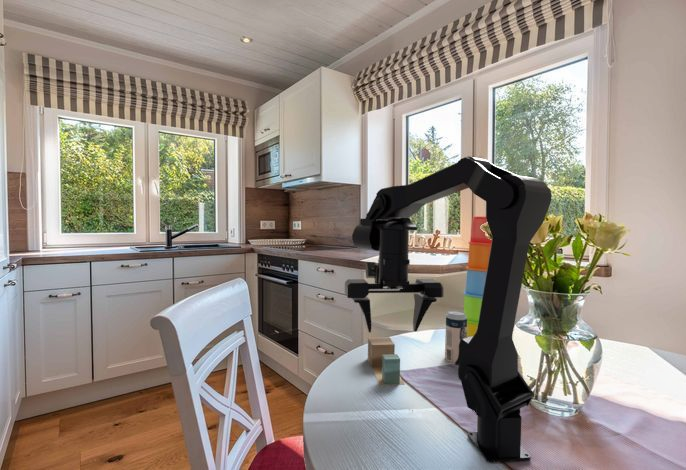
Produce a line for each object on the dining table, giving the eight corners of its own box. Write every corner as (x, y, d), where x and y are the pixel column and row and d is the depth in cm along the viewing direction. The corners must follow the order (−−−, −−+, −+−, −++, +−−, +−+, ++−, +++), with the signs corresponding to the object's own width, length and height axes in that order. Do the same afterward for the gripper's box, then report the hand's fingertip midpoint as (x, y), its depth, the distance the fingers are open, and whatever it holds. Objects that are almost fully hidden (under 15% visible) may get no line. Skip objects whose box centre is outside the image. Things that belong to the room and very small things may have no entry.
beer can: (467, 368, 82) (468, 316, 81) (445, 366, 83) (446, 314, 82) (464, 360, 86) (465, 310, 86) (443, 358, 87) (445, 309, 87)
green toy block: (404, 389, 71) (405, 359, 71) (379, 390, 70) (380, 359, 70) (388, 361, 85) (388, 336, 85) (367, 362, 84) (367, 336, 84)
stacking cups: (452, 341, 100) (456, 216, 99) (488, 340, 101) (491, 217, 100) (469, 355, 90) (473, 216, 89) (508, 354, 91) (512, 216, 90)
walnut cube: (394, 366, 79) (394, 344, 79) (371, 367, 79) (372, 344, 79) (388, 358, 84) (389, 337, 84) (367, 358, 84) (368, 337, 84)
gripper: (426, 249, 80) (424, 319, 81) (342, 249, 78) (341, 321, 79) (445, 254, 69) (443, 335, 70) (348, 254, 67) (347, 337, 68)
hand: (392, 331), depth 72 cm, fingers open, 9 cm apart
